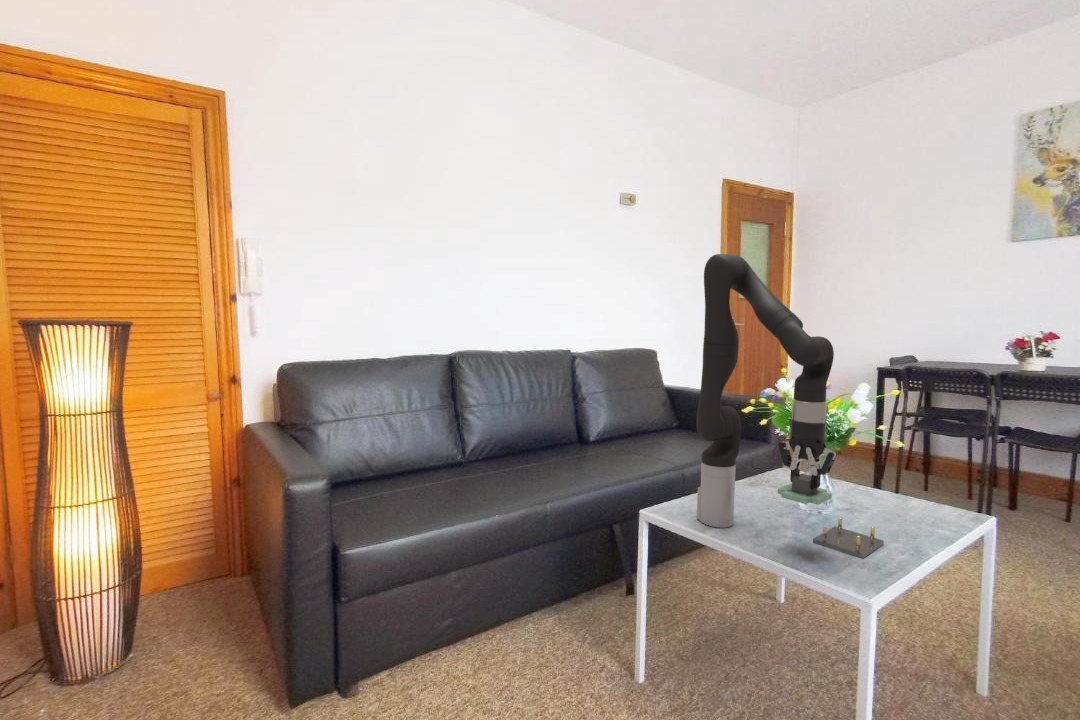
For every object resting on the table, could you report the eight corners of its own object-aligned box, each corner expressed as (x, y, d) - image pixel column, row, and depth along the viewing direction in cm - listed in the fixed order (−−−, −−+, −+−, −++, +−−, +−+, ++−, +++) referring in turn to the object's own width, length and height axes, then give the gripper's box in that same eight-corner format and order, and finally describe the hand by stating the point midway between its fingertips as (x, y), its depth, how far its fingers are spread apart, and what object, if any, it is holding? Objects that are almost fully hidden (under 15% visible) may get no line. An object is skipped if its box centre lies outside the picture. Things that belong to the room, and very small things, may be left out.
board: (773, 495, 136) (774, 476, 136) (794, 486, 143) (795, 468, 143) (814, 506, 128) (815, 487, 128) (835, 496, 135) (836, 478, 135)
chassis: (812, 542, 143) (813, 525, 142) (834, 529, 151) (835, 513, 150) (862, 558, 133) (864, 540, 133) (883, 544, 142) (884, 527, 141)
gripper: (772, 415, 137) (769, 482, 139) (832, 425, 126) (827, 498, 128) (787, 412, 142) (784, 476, 143) (846, 421, 131) (841, 491, 132)
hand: (804, 486), depth 135 cm, fingers closed on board, 4 cm apart
